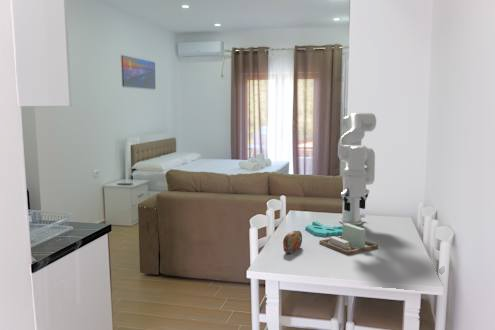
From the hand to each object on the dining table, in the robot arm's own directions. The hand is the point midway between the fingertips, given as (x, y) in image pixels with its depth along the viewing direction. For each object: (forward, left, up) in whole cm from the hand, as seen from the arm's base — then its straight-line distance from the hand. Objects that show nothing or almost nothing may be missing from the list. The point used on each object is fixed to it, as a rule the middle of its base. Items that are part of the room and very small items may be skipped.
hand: (354, 209), depth 202 cm
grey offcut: (+9, -1, -16) cm, 18 cm away
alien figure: (-4, -24, -18) cm, 30 cm away
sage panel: (0, 0, -17) cm, 17 cm away
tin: (+30, -8, -18) cm, 35 cm away
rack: (+3, 0, -17) cm, 17 cm away
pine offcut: (+9, 0, -18) cm, 20 cm away
